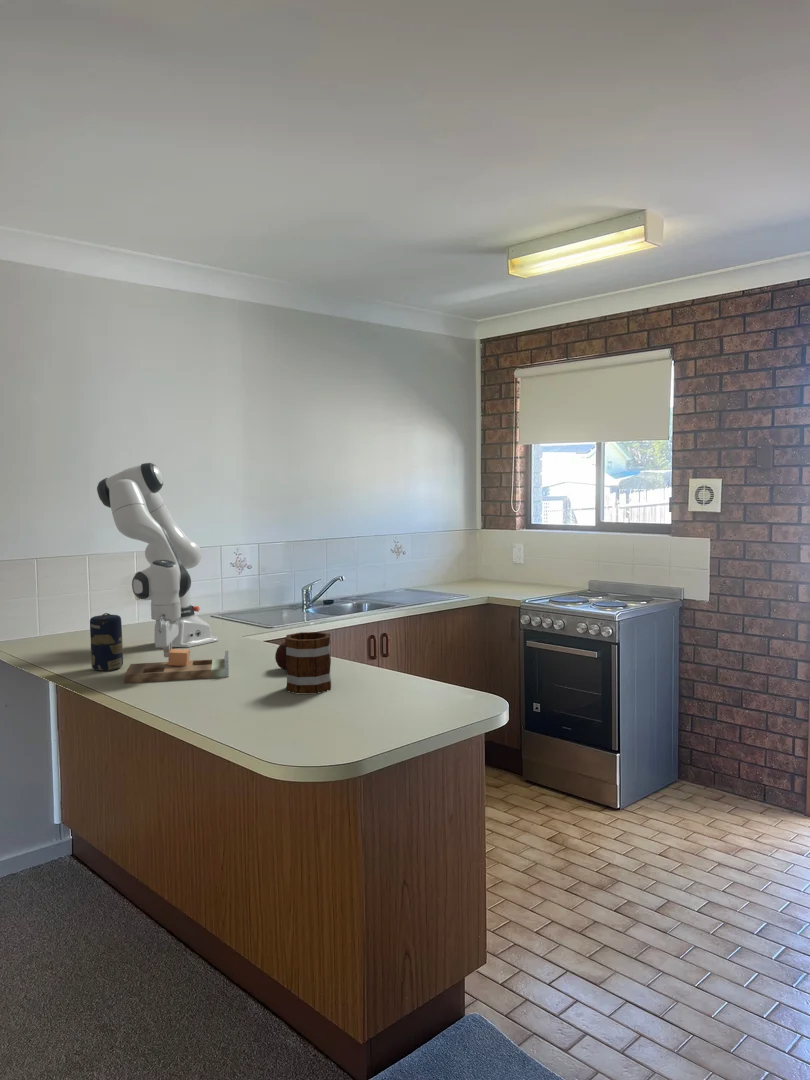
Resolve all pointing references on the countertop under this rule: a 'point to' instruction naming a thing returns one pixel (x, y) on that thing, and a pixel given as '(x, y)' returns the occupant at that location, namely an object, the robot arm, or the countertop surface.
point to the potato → (281, 656)
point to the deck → (175, 671)
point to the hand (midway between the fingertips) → (167, 656)
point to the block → (179, 657)
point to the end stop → (226, 664)
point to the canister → (106, 642)
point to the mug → (308, 662)
